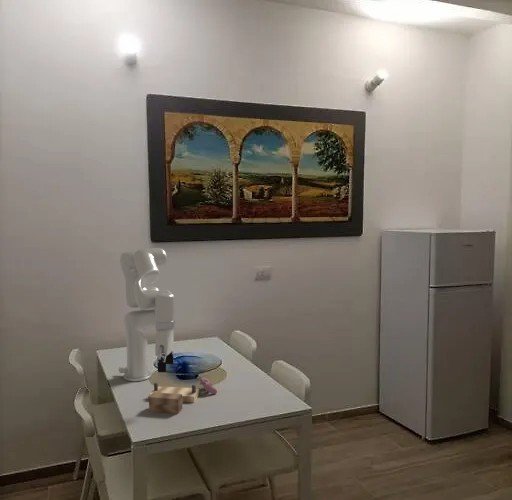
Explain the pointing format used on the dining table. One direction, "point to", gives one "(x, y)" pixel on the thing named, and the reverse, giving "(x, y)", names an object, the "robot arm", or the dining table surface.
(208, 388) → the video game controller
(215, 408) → the dining table surface
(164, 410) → the walnut bar
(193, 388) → the peg stand
